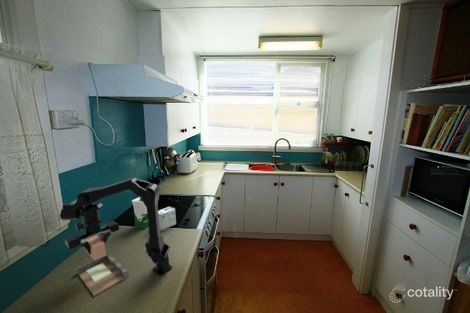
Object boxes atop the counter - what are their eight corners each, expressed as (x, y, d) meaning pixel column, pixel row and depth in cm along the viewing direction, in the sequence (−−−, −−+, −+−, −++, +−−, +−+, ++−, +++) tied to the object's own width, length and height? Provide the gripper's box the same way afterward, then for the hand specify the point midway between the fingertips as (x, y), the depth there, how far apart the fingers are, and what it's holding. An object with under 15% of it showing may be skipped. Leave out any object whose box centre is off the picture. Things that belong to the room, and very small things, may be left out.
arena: (128, 276, 91) (127, 270, 90) (94, 296, 81) (93, 289, 80) (109, 258, 103) (108, 252, 103) (77, 273, 93) (76, 267, 93)
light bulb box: (170, 221, 140) (169, 205, 139) (176, 224, 136) (175, 208, 134) (155, 227, 132) (154, 211, 130) (161, 230, 128) (160, 214, 126)
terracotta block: (98, 247, 96) (96, 235, 95) (106, 255, 91) (104, 242, 89) (87, 252, 93) (85, 239, 92) (94, 260, 87) (92, 247, 86)
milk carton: (143, 230, 129) (140, 199, 125) (132, 227, 132) (129, 197, 129) (153, 223, 137) (151, 194, 133) (143, 221, 140) (140, 192, 137)
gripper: (107, 206, 101) (111, 235, 104) (58, 221, 86) (64, 255, 89) (117, 212, 94) (121, 244, 97) (66, 229, 80) (72, 266, 82)
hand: (96, 251), depth 91 cm, fingers closed on terracotta block, 4 cm apart
